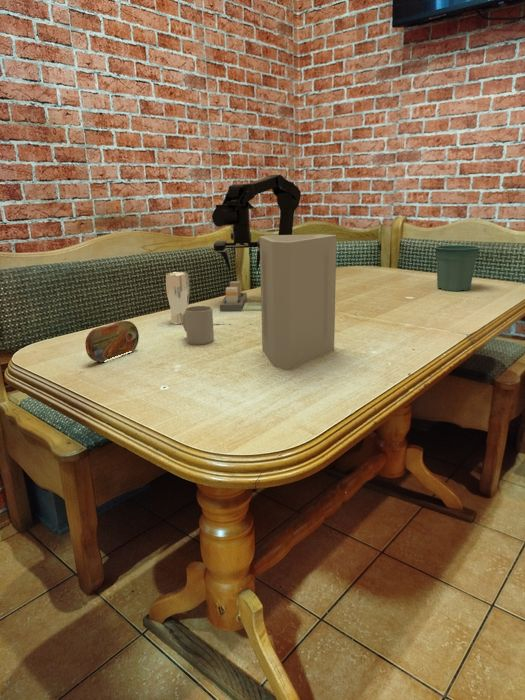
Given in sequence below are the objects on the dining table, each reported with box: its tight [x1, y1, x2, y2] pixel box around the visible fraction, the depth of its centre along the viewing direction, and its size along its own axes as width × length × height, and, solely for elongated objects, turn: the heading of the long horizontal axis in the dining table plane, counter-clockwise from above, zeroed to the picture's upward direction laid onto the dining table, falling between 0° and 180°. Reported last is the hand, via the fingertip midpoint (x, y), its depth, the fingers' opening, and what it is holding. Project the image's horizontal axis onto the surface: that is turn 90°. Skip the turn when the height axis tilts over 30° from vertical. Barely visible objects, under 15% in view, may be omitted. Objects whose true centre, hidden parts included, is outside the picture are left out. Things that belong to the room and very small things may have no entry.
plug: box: [225, 286, 238, 303], centre depth 168 cm, size 4×4×7 cm
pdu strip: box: [219, 280, 248, 313], centre depth 173 cm, size 7×20×8 cm, turn 177°
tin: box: [84, 320, 140, 363], centre depth 123 cm, size 15×3×8 cm, turn 148°
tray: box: [242, 302, 261, 312], centre depth 169 cm, size 9×9×2 cm
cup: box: [182, 305, 215, 346], centre depth 135 cm, size 7×10×9 cm
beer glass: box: [165, 271, 190, 325], centre depth 154 cm, size 7×7×15 cm
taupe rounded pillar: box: [259, 233, 338, 371], centre depth 119 cm, size 19×15×28 cm
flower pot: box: [434, 244, 481, 292], centre depth 194 cm, size 16×16×16 cm
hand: (243, 270), depth 173 cm, fingers open, 9 cm apart
